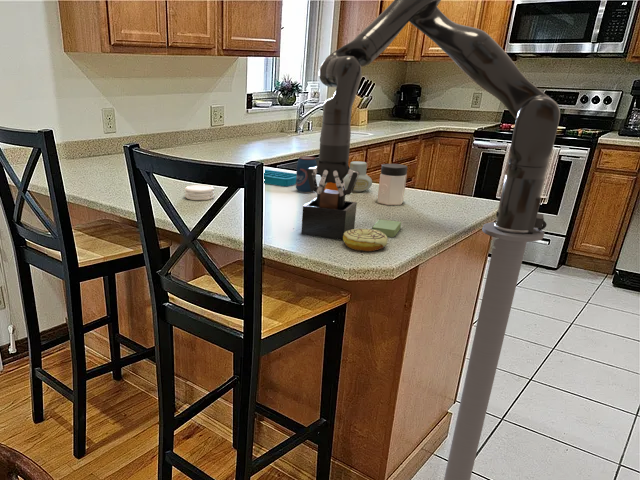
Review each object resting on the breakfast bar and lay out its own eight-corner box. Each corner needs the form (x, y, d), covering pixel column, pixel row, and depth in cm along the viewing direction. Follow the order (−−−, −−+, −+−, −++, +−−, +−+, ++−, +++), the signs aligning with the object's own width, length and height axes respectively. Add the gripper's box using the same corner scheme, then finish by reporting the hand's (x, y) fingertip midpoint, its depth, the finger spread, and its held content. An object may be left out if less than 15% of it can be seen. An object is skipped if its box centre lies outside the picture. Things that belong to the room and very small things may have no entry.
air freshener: (367, 188, 195) (370, 160, 191) (373, 192, 188) (376, 164, 184) (338, 188, 195) (341, 160, 191) (343, 192, 187) (346, 164, 183)
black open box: (354, 230, 144) (356, 202, 141) (343, 240, 136) (346, 210, 133) (314, 224, 149) (315, 197, 146) (301, 234, 140) (302, 205, 137)
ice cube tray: (286, 187, 195) (287, 179, 194) (244, 180, 207) (244, 172, 206) (303, 182, 204) (303, 174, 203) (261, 176, 215) (261, 168, 214)
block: (341, 207, 141) (342, 190, 139) (336, 211, 137) (337, 194, 135) (324, 206, 143) (325, 189, 141) (319, 209, 139) (320, 192, 137)
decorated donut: (393, 251, 128) (395, 236, 126) (352, 254, 126) (354, 239, 124) (375, 238, 137) (376, 225, 135) (336, 241, 135) (337, 227, 133)
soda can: (291, 191, 190) (293, 157, 185) (304, 188, 194) (306, 155, 189) (306, 194, 185) (308, 159, 180) (318, 191, 189) (321, 157, 184)
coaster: (216, 200, 176) (216, 189, 175) (187, 201, 174) (187, 191, 173) (211, 193, 185) (210, 183, 184) (183, 195, 183) (182, 184, 182)
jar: (371, 201, 176) (375, 165, 171) (387, 198, 180) (391, 162, 175) (392, 206, 169) (397, 169, 164) (408, 203, 173) (414, 166, 168)
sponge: (378, 226, 148) (379, 219, 148) (400, 228, 146) (401, 221, 145) (371, 234, 141) (372, 227, 140) (393, 237, 139) (394, 230, 138)
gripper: (366, 142, 133) (360, 208, 140) (312, 139, 139) (309, 202, 146) (359, 146, 127) (352, 215, 134) (303, 142, 133) (300, 208, 140)
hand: (330, 208), depth 140 cm, fingers closed on block, 4 cm apart
